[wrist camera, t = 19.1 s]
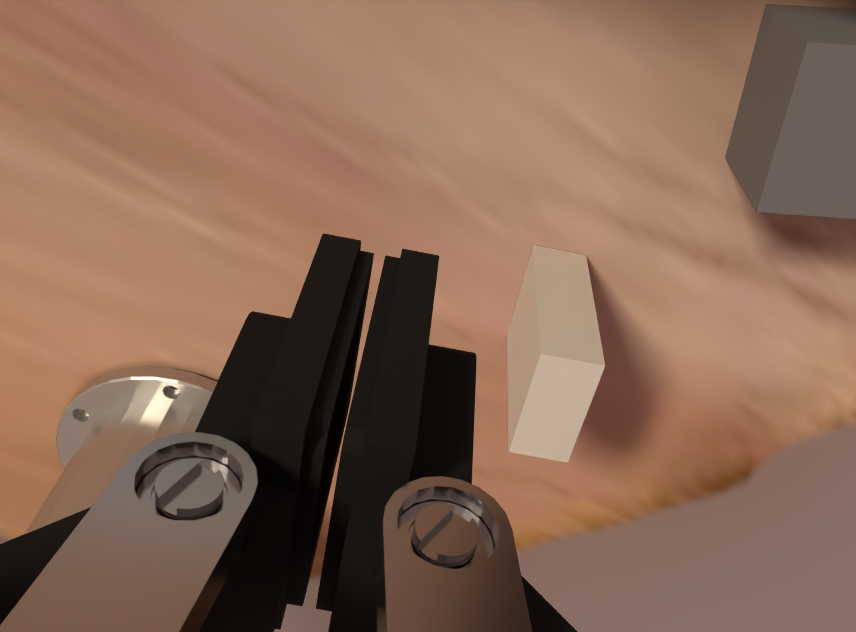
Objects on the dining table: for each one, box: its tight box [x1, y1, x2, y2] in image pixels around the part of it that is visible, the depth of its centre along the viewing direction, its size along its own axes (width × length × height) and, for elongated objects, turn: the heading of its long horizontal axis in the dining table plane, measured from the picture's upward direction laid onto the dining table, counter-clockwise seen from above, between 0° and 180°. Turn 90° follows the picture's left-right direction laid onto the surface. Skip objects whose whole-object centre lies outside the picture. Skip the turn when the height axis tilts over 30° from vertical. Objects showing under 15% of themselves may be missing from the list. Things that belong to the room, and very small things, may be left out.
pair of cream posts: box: [507, 245, 605, 463], centre depth 28 cm, size 27×3×8 cm, turn 170°
